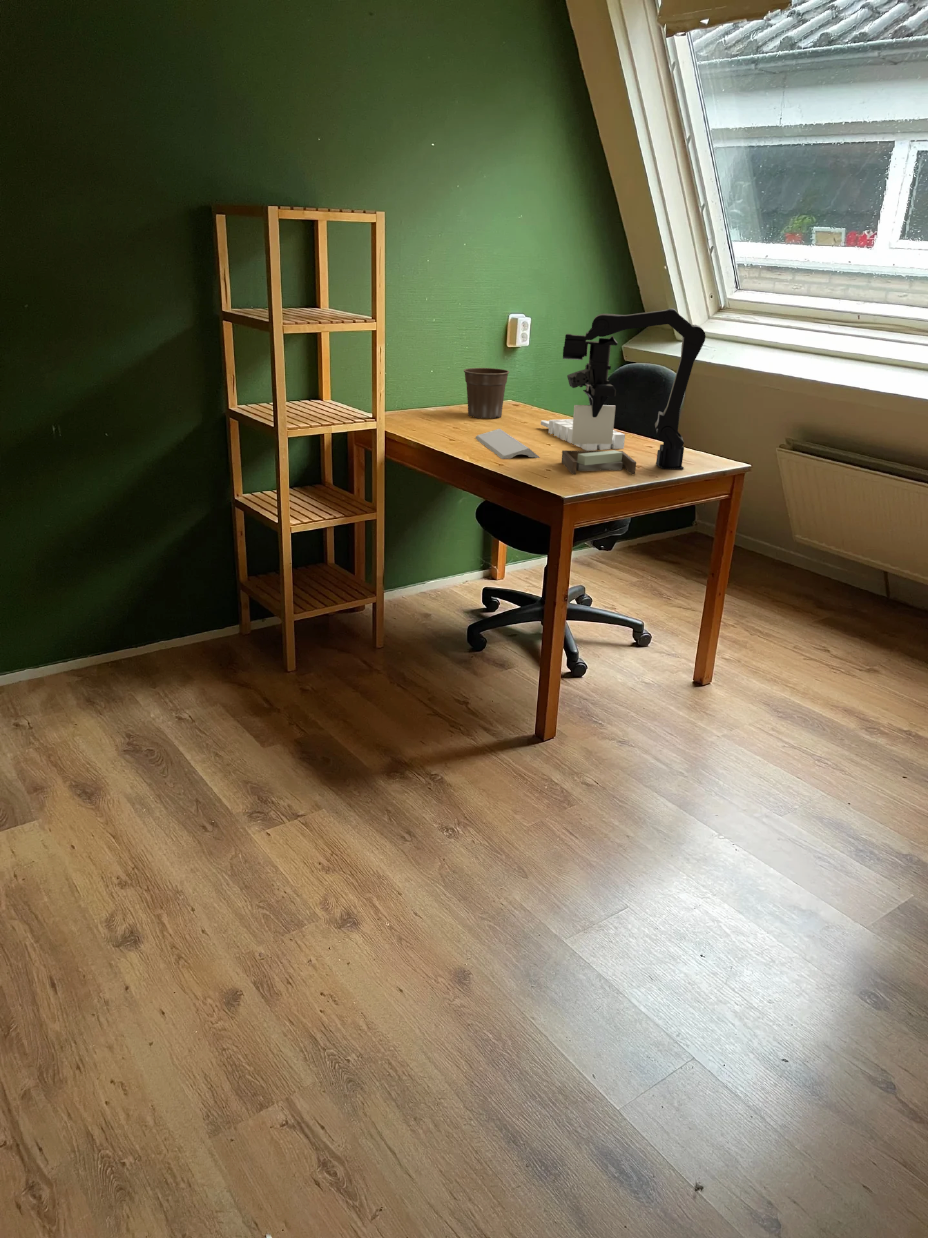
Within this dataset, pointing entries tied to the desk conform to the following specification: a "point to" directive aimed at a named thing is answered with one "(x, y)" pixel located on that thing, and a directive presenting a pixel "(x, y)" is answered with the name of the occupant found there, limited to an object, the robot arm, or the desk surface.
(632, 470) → the tray
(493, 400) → the plant pot
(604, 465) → the offcut lower
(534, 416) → the desk surface
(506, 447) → the crown molding
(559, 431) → the organizer
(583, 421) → the sheet
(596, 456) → the offcut upper
